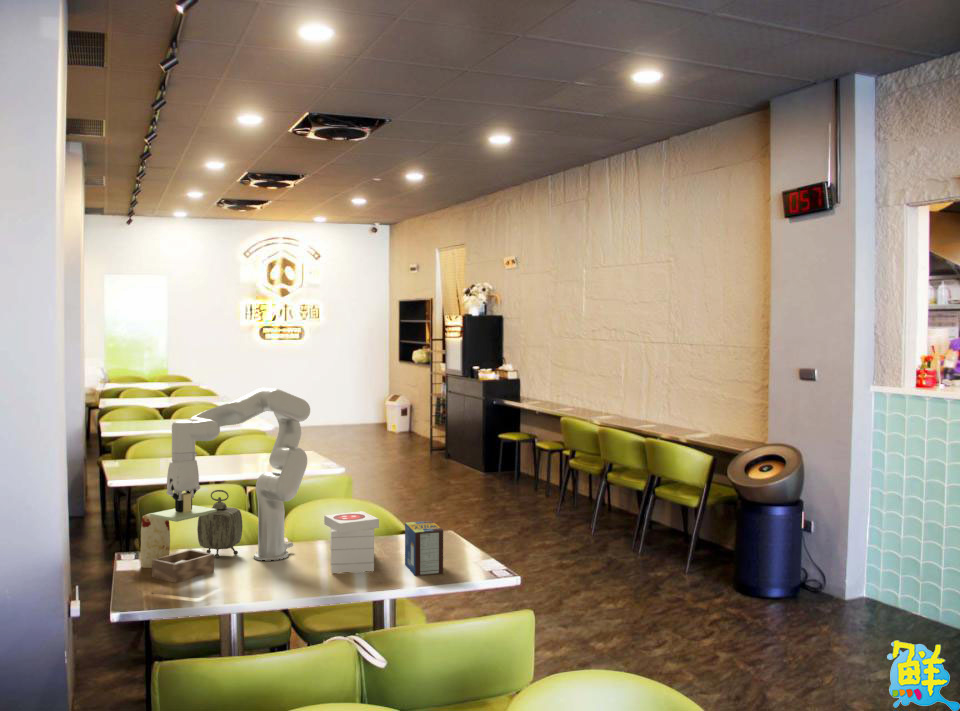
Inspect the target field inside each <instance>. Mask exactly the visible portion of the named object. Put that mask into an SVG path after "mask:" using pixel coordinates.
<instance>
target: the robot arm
mask: <svg viewBox="0 0 960 711" xmlns="http://www.w3.org/2000/svg"><path fill="white" fill-rule="evenodd" d="M265 412H272V413H273V414H274V417H275V418H276V420H277V423H278V433H277V435H276V439H275V441H274V445H273V447H272V450H271V451H270V452H271V453H270V455H269V460H268V461H269V465H270V466H271V467H272V468H273V469H275V470H277V471H281V472H280V473H279V472H278V473H277V472H273V471H270V472H267V471H266V472H264V473H262V474H261V475H259V476H258V478H257V480H256V483H255V493H256V498H257V508H258V511H257V521H258V522H257V524H258V526H257V527H258V528H257V531H258V532H257V537H258V539H257V540H258V541H257V544H258V545H257V547H258V548H257V549H258V550H257V552H255V553H254V554H253V558H254V559H255V560H257V559H258V560H257V561H262V560H265V561H266V562H270V561H271V560H274V561H279V559H280V560H283V558H284V559H287V558H288V557H289V551H287V549H289V548H292V547H294V543H293V542H292V541H289V542H285V504H284V502H289V501H291V500H293V499H294V498H295V497H296V495H297V493H298V491H299V489H300V486H301V485H302V484H301V483H302V482H303V478H304V476H305V473H306V469H307V467H308V466H307V465H308V456H307V455H308V454H306V451H305V450H304V449H303V448H300V447H299V444H300V441H301V436H302V427H301V422H304V421H306V420H307V419H308V418H309V416H310V414H311V406H310V404H309V403H308V401H306V400H305V399H303V398H301V397H298V396H297V395H294V394H291V393H290V392H289V393H288V392H287V391H284V390H282V389H280V388H269V387H261V388H258V389H255V390H254V391H251V392H250V393H247V394H245V395H244V396H241V397H239V398H237V399H235V400H233V401H231V402H227V403H224V404H221V405H217V406H215V407H212V408H209V409H206V410H204V411H201V412H199V413H198V414H196V415H194V416H192V417H190V418H189V419H187V420H176V421H174V422H172V424H171V461H169V464H168V467H167V468H168V469H167V476H166V477H167V478H166V495H168V496H170V497H172V498H173V500H174V507H175V511H177V512H183V500H181V499H182V493H183V492H184V491H185V492H184V493H189V494H191V510H192V505H193V498H194V497H195V495H196V493H197V492H198V491H199V490H200V489H201V485H200V483H199V482H200V481H199V479H200V477H199V476H200V475H199V474H200V473H199V466H198V461H197V460H196V456H197V455H198V452H197V451H196V442H197V441H198V442H199V441H201V442H209V441H211V442H212V441H214V440H215V439H216V438H218V436H219V434H220V433H221V428H220V427H225V426H234V425H240V424H243V423H245V422H248V421H249V420H251V419H252V418H255V417H257V416H258V415H260V414H263V413H265ZM271 562H272V561H271Z"/></svg>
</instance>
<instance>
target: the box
mask: <svg viewBox="0 0 960 711" xmlns="http://www.w3.org/2000/svg"><path fill="white" fill-rule="evenodd" d="M181 560H185V561H184V562H180V563H176V562H178V561H181ZM213 572H215V554H214V553H207V552H205V551H200V550H196V549H187V550H183V551H180V552H175V553H172V554H169V555H167V556H164V557H160V558H156V559H152V568H151V578H153V579H157V580H161V581H165V582H169V583H174V584H177V583H180V582H184V581H188V580H191V579H193V578H197V577H200V576H204V575H207V574H210V573H213Z"/></svg>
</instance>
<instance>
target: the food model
mask: <svg viewBox="0 0 960 711" xmlns="http://www.w3.org/2000/svg"><path fill="white" fill-rule="evenodd" d="M151 513H152V512H150V513H147V514H145V515H143V516H142V517H141V527H140V558H141V562H140V564H141V565H140V566H141V568H146V569H152V559H156V558H160V557H164V556H167V555H170V551H171V550H170V548H171V528H170V527H171V526H170V520H164V519H159V518H158V517H153V516H150V514H151Z"/></svg>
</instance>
